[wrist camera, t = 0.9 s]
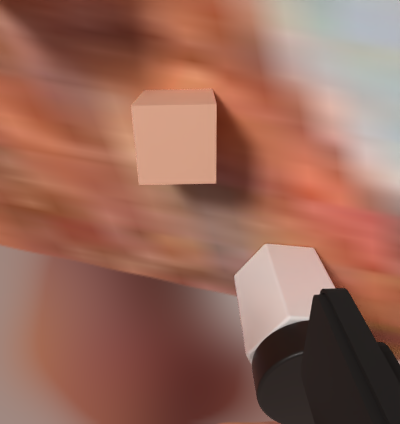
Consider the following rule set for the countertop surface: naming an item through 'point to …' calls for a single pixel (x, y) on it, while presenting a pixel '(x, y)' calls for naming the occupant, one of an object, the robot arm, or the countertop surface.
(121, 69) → the countertop surface
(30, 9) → the countertop surface
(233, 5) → the countertop surface
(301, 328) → the jar
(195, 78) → the countertop surface
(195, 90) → the top block
